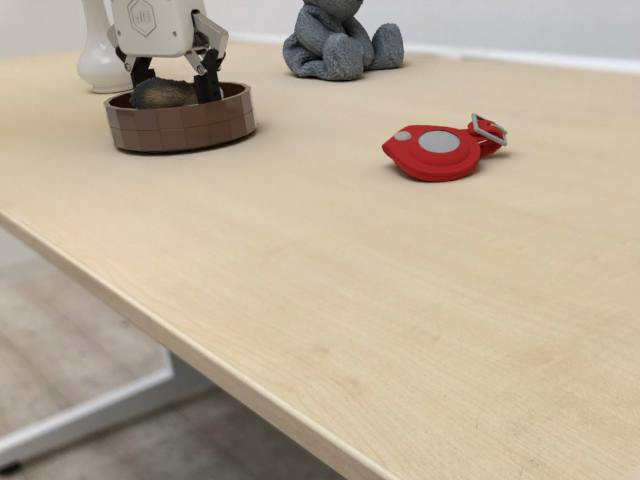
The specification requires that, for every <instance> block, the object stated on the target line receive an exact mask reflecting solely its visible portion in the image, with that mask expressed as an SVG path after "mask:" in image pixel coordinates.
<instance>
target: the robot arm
mask: <svg viewBox="0 0 640 480" xmlns="http://www.w3.org/2000/svg"><path fill="white" fill-rule="evenodd" d="M110 6H111V13H112V18H113V24H112V25H111V27H110V28H109V29H108V30H107V32H106V34H107V37H108V39H109V40H110V42H111V44H112V45H113V47H114V49H115V52H116V55H117V56H118V57H119V59H120V60H121V61H122V62H123V63H124V68H125V70H126V71H127V72H128V73H130V72H131V73H130V75H131V80H132V84H133V88H132V89H134V88H136V87H137V86H136V85H137V84H140V83H141V82H143V81H145V80H148V79H149V78H150V79H152V77H157V74H156V71H155V68H152V67H151V68H150V66H151V64H152V61H153V58H159V59H161V58H164V59H165V58H166V59H174V58H180V57H185V59H186V60H187V62H188V63H189V65H191V68H192V69H193V70H194V71H195V72H196V75H193V82H194V85H195V90H196V95H197V101H198V104H202V103H207V102H212V101H217V100H222V97H221V92H220V86H219V81H220V80H219V75H218V72H220V71H221V70H222V64H223V62H224V60H225V58H226V56H227V52H226V50H227V47H228V42H229V38H230V35H229V31H227V30H226V29H225V28H223V27H222V26H221V25H219V24H218V23H216V22H215V21H213V20H212V19H210V18H209V17H208V15H207V10H206V6H205V1H204V0H110ZM201 58H202V59H201Z"/></svg>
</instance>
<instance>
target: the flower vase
mask: <svg viewBox="0 0 640 480" xmlns="http://www.w3.org/2000/svg"><path fill="white" fill-rule="evenodd" d="M81 3H82V7H83V12H84V17H85V23H86V24H85V25H86V41H85V46H84V49H83V50H82V52H81V53H80V55H79V56H78V60H77V62H76V72H77V75H78V77H79V78H80V79H81V80H82V81H84V83H86V84H88V85H90V86H92V91H93V92H94V93H95V94H112V93H113V94H114V93H120V92H121V93H122V92H125V91H126V92H127V91H129V90H132V89H133V84H132V80H131V75H130V73H131V72H130V73H128V72H127V71H126V70H125V68H124V63H123V62H122V61H121V60H120V59H119V57H118V56H117V55H116V52H115V49H114V47H113V45H112V44H111V42H110V40H109V39H108V37H107V34H106V32H107V30H108V29H109V28H110V27H111V26H112V25H111V22H110V20H109V15H108V13H107V9H106V5H105V2H104V0H81Z"/></svg>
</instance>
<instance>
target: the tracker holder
mask: <svg viewBox="0 0 640 480" xmlns="http://www.w3.org/2000/svg"><path fill="white" fill-rule="evenodd" d="M470 117H471V121H470V122H468V123H467V128H458V127H457V128H455V127H451V126H446V125H445V126H443V125H431V124H409V125H407V126H404V127H403V128H401V129H399V130H398V131H397V132H396V133H394V134H393V135H391V137H390V138H389V139H388V140H386V141H385V142H383V143H382V144H381V149H382V152H383V153H384V154H385V155H386V156H387V157H388V158H390V159H391V160H392V161H393V162H394V164H395V165H397V166H398V168H400V170H402V171H403V172H405V173H406V174H407V175H408V176H411V177H413V178H415V179H419V180H422V181H426V182H438V183H439V182H451V181H455V180H459V179H461V178H465V177H466V176H468V175H470V174H471V173H472V172H473V171H475V170H476V168H477V166H478V164H479V161H480V159H481V158H484V157H486V156H487V157H488V156H490V155H493V154H494V153H496V152H497V151H499V150H500V149H501V148H502V147H507V146H508V141H507V136H506V135H508V131H507V130H506V129H505V128H504V127H503V126H501V125H499V124H497V123H496V122H495V121H492V120H489V119H487V118H485V117H483V116H482V115H479V114H477V113H476V112H472V113H471V115H470Z"/></svg>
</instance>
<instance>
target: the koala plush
mask: <svg viewBox="0 0 640 480" xmlns="http://www.w3.org/2000/svg"><path fill="white" fill-rule="evenodd" d="M302 2H303V5H302V7H300V9H299V11H298V12H297V13H298V14H297V19H296V22H295V25H294V28H293V30H294V31H293V33H291V34H290V35H289V36H288V37H286V39H285V40H284V41H283V45H282V49H281V50H282V52H281V53H282V57H283V60H284V62H285V65H286V66H287V68H288V69H289V70H290V72H292V73H293V74H294V75H297V76H299V77H310V76H312V77H316V78H318V79H322V80H326V81H347V80H348V81H352V80H355V79H356V80H357V79H358V78H359V77H361V76H363V71H366V70H367V71H369V70H382V69H395V68H397V67H398V68H399V67H401V66H402V65H403V64H404V59H405V46H404V40H403V36H402V33H401V29H400V27H399V26H398V25H397V23H396V22H395V23H394V22H392V23H390V22H387V23H384V24H381V25H379V27H378V28H377V29H376V30H375V32H374V33H373V35H372V38H370V35H369V33H368V32H367V30H366V29H365V27H364V26H363V24H362V23H361V22H360V21H359V20H358V19H357V18H356V17H355V15H356V14H357V13H358V12H359V11H360V9H361V7H362V5H363V4H364V0H302Z"/></svg>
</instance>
